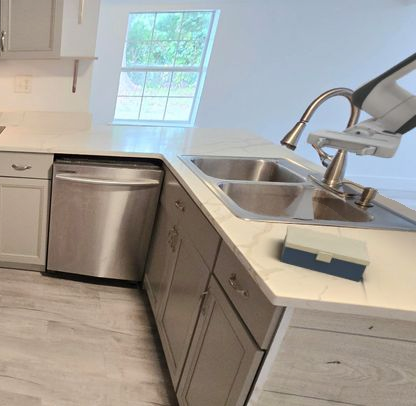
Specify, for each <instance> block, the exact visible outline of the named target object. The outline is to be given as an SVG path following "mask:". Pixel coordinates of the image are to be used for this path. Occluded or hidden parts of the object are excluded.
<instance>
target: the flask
mask: <svg viewBox="0 0 416 406" xmlns="http://www.w3.org/2000/svg"><path fill="white" fill-rule="evenodd" d="M316 189H317V185H315V184H312V183H302V189H301V191H300V192H299V194H298V195H297V196H296V198H295V199H294V200H293V201H292V202H291V203H290V204H289V205H288V206H287V207H286V208H285V209H284V214H285V215H288V217H291V218H294V219H300V220H315V214H314V213H315V212H314V205H313V204H314V203H313V197H314V192H315V190H316Z"/></svg>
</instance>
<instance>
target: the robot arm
mask: <svg viewBox="0 0 416 406" xmlns="http://www.w3.org/2000/svg"><path fill="white" fill-rule="evenodd" d="M415 70H416V52H414V53H412V54H411V55H409V56H408V57H405V58H404V59H403V60H401V61H399V62H398V63H397V64H395V65H393V66H392V67H391V68H389V69H386V71H384V72H382V73H381V74H379V75H377V76H376V77H373V78H371V79H368V80H367V81H365V82H363V83H362V84H360V85H359V86H358V87H357V88H356V89H354V91H353V92H351V96H350V97H351V98H350V99H351V101H350V102H351V105H352V106H353V107H355V108H357V109H359V110H361V111H363V112H365V113H366V114H367V115H368V116H370V117H371V118H367V119H363V120H362V121H360V122H358V123H356V124H354V125H351V126H349V127H346V128H345V129H344V130H343V131H339V130H332V129H326V128H325V129H324V128H323V129H317V130H314V131H310V132H309V133H308V135H307V138H306V143H307V144H309V145H313V146H315V148H318V149H319V148H320V149H323V148H330V149H335V150H340V151H344V152H345V151H346V152H348V153H352V154H355V155H356V156H360V157H363V156H371V157H377V158H382V159H392V158H394V157H395V155H396V153H397V151H398V149H399V148H400V147H399V146H400V144H401V143H402V142H401V141H402V137H403V135H405V134H407V133H409V132H410V131H412V130H414V129H415V128H416V95H415V94H413V93H411V92H410V91H408V90H406V89H405V88H404V87H402V86H400V85H399V84H398V82H397V81H398V80H400V79H402V78H404V77H405V76H408V75H409V74H410V73H412V72H413V71H415Z"/></svg>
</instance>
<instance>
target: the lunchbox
mask: <svg viewBox="0 0 416 406" xmlns="http://www.w3.org/2000/svg"><path fill="white" fill-rule="evenodd" d="M281 246H282V248H281V254H280V255H281V256H280V262H281V263H285V264H288V265H292V266H296V267H300V268H303V269H307V270H311V271H315V272H319V273H323V274H326V275H330V276H335V277H339V278H343V279H346V280H350V281H354V282H357V283H360V281H361V279H362V277H363V275H364V273H365V271H366V268H367V267H369V266H370V264H371V258H370V255H369V252H368V247H367V244H366V241H365V240H362V239H356V238H352V237H347V236H342V235H338V234H333V233H328V232H323V231H318V230H314V229H309V228H305V227H299V226H296V225H295V226H294V225H291V224H288V225H287V228H286V232H285V236H284V239H283V242H282V245H281Z"/></svg>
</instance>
